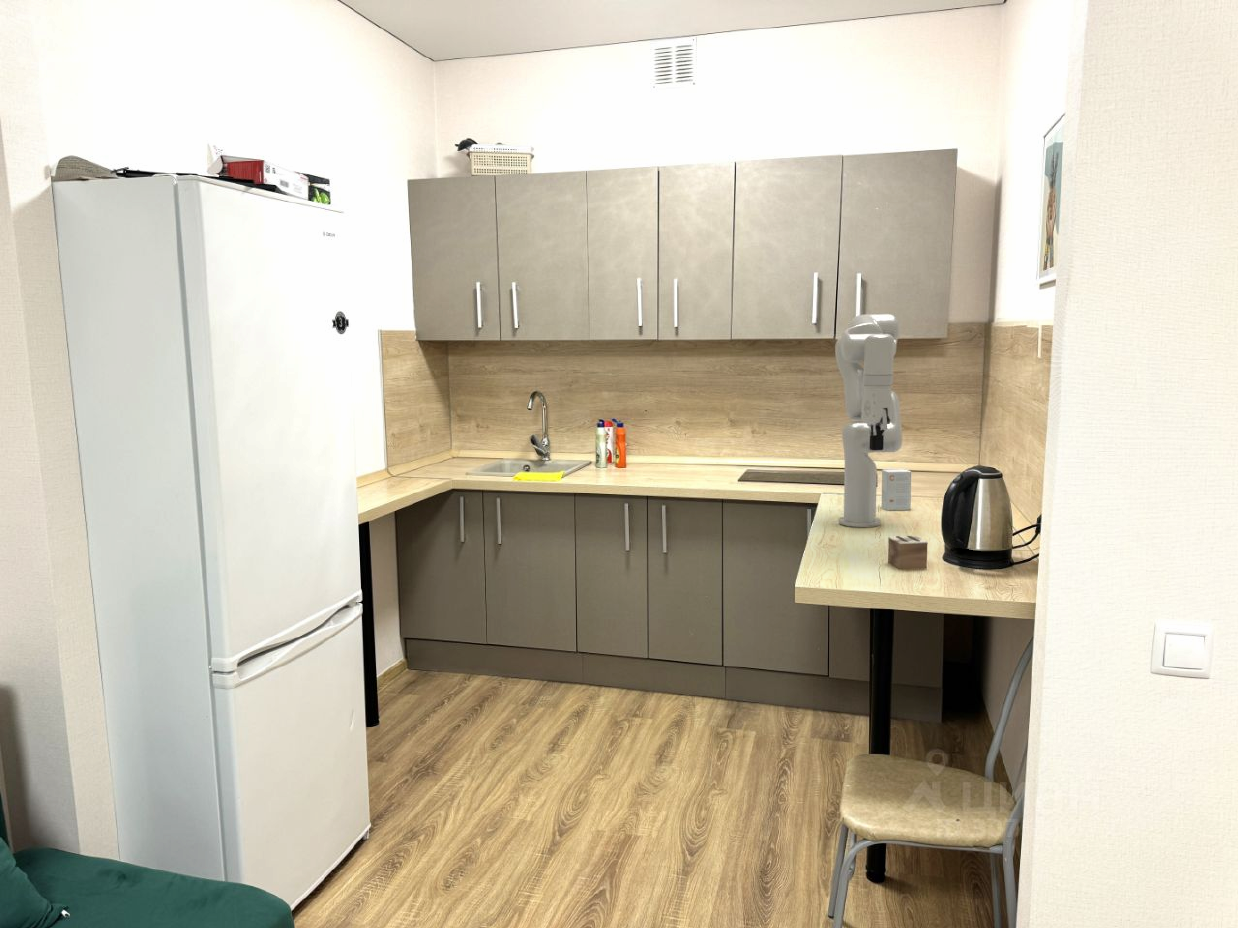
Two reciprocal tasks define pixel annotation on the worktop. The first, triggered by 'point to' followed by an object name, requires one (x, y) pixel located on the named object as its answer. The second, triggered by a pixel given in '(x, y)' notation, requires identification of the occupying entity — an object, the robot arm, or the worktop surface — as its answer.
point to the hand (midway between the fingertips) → (876, 449)
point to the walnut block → (907, 552)
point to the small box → (896, 489)
